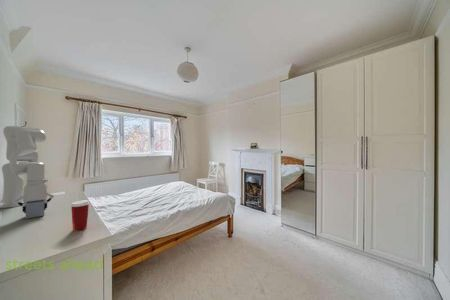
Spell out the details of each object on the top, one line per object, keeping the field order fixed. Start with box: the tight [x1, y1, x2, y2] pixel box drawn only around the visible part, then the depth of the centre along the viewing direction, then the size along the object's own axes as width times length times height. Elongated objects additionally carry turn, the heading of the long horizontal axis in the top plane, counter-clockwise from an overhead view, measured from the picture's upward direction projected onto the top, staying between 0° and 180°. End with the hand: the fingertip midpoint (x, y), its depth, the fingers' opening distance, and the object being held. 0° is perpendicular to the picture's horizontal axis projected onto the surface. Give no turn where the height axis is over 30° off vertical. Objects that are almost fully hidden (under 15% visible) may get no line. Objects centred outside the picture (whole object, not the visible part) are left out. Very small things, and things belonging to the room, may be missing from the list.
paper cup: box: [70, 199, 90, 232], centre depth 93 cm, size 8×8×14 cm
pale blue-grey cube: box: [25, 200, 45, 220], centre depth 110 cm, size 8×8×9 cm
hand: (35, 210), depth 110 cm, fingers closed on pale blue-grey cube, 7 cm apart
